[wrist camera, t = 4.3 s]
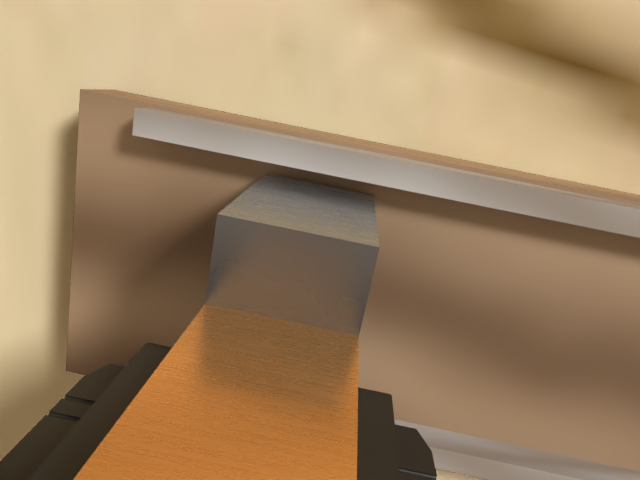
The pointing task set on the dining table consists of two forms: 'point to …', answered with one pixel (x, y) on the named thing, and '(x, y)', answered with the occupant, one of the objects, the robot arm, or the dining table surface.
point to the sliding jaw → (261, 349)
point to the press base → (385, 279)
